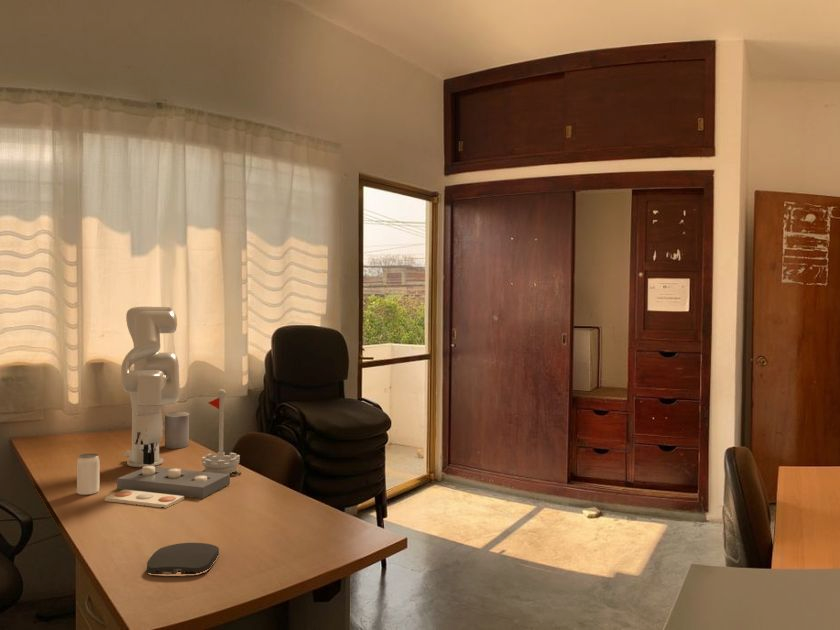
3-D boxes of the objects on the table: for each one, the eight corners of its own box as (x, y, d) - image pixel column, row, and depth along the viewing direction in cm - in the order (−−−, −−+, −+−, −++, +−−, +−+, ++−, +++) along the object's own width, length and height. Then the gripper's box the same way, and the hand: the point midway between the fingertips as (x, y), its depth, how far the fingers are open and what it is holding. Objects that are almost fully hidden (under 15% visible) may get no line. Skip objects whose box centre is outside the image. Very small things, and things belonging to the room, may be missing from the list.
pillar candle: (165, 443, 279) (165, 409, 279) (189, 442, 282) (189, 408, 281) (163, 449, 270) (163, 413, 269) (188, 448, 273) (188, 412, 272)
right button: (191, 488, 215) (191, 478, 215) (198, 484, 219) (199, 475, 219) (202, 489, 214) (202, 479, 214) (209, 485, 218) (209, 476, 218)
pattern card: (104, 500, 203) (104, 497, 203) (124, 492, 212) (124, 488, 212) (166, 508, 197) (166, 504, 197) (184, 499, 206) (184, 495, 206)
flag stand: (244, 467, 245) (245, 387, 244) (231, 476, 232) (232, 392, 231) (211, 465, 246) (211, 386, 246) (195, 475, 233) (196, 391, 233)
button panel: (117, 488, 215) (117, 478, 215) (148, 476, 231) (148, 466, 231) (202, 498, 207) (203, 487, 207) (229, 484, 223) (229, 474, 223)
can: (90, 496, 207) (90, 458, 207) (72, 494, 209) (72, 457, 208) (103, 490, 214) (103, 453, 213) (86, 488, 215) (86, 452, 214)
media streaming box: (222, 553, 165) (222, 541, 165) (205, 578, 151) (205, 565, 151) (164, 553, 165) (164, 541, 165) (141, 578, 150) (141, 565, 150)
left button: (139, 477, 220) (139, 468, 220) (147, 474, 224) (147, 465, 224) (149, 478, 219) (150, 469, 219) (157, 475, 223) (157, 466, 223)
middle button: (165, 480, 218) (165, 471, 217) (172, 477, 221) (172, 468, 221) (175, 481, 217) (176, 472, 216) (183, 478, 220) (183, 469, 220)
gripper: (153, 405, 229) (153, 458, 229) (124, 412, 214) (124, 468, 215) (172, 407, 227) (172, 459, 227) (144, 413, 213) (143, 470, 213)
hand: (148, 463), depth 221 cm, fingers closed
